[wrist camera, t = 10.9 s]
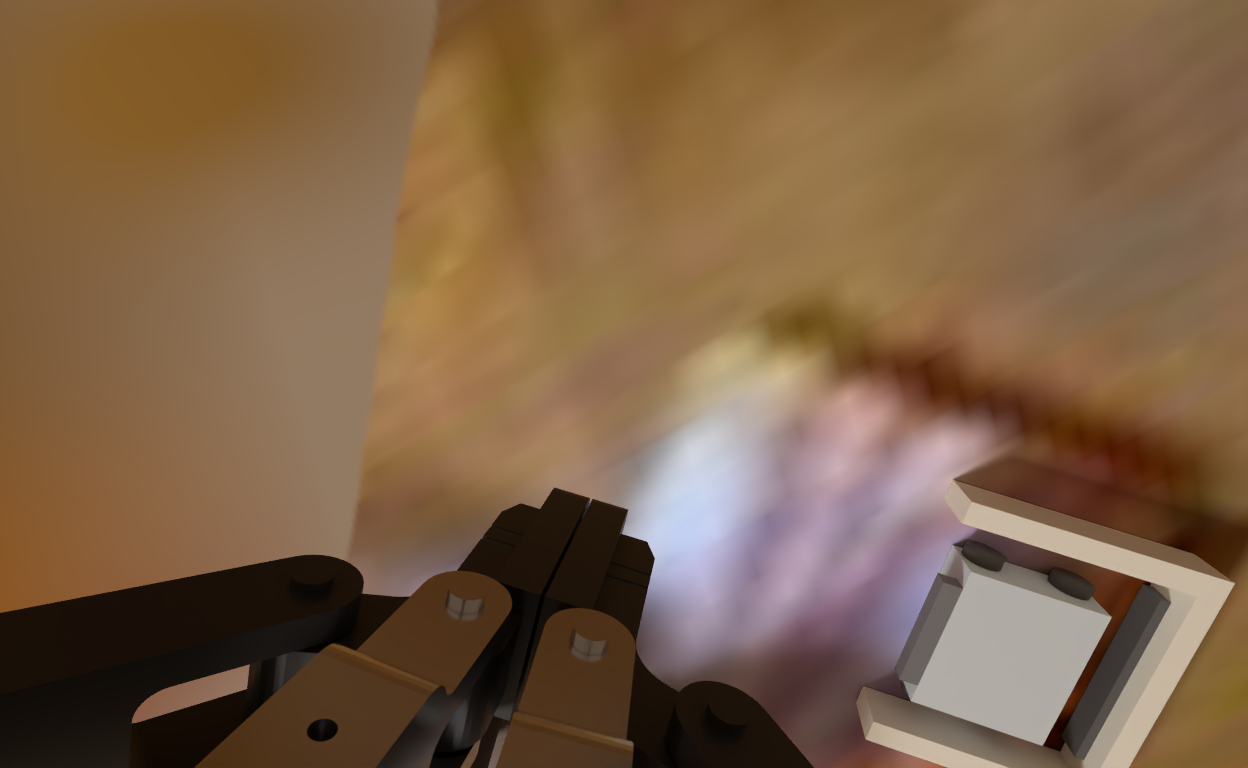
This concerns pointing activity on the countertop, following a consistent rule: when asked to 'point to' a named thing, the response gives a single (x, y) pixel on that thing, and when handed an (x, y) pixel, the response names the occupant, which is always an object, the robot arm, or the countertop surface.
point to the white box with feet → (1001, 642)
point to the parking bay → (1124, 680)
